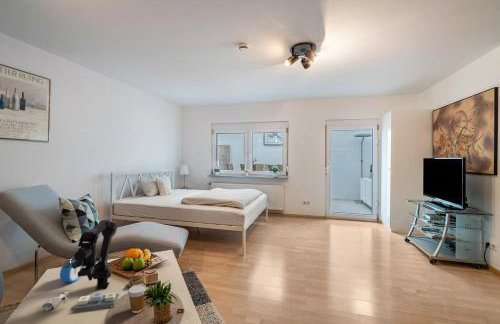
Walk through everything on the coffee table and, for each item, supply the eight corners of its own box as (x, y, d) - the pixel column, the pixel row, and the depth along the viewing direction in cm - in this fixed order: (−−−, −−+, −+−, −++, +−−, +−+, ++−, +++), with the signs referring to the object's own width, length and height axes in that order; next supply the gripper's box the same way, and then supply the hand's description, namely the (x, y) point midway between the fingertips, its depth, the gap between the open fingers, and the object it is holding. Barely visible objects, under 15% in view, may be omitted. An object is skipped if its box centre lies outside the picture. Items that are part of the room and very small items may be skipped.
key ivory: (81, 300, 137) (81, 296, 137) (90, 299, 138) (90, 295, 138) (78, 305, 133) (77, 301, 133) (87, 304, 134) (87, 299, 134)
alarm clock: (68, 286, 154) (68, 263, 153) (59, 286, 154) (58, 262, 153) (83, 275, 167) (83, 254, 166) (74, 275, 167) (74, 253, 166)
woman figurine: (32, 305, 128) (57, 288, 146) (32, 314, 128) (57, 296, 146) (55, 305, 129) (77, 288, 147) (55, 314, 128) (77, 295, 146)
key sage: (107, 297, 141) (107, 293, 141) (115, 296, 142) (115, 292, 142) (104, 301, 137) (104, 297, 136) (113, 300, 138) (113, 296, 138)
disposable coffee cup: (150, 310, 133) (150, 288, 132) (131, 318, 126) (131, 295, 126) (143, 302, 140) (143, 281, 139) (125, 309, 133) (125, 288, 133)
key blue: (94, 296, 139) (94, 292, 139) (103, 295, 140) (103, 291, 140) (91, 301, 135) (91, 297, 135) (100, 300, 136) (100, 296, 136)
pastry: (126, 283, 159) (126, 271, 158) (150, 276, 168) (150, 264, 168) (131, 293, 148) (131, 280, 148) (156, 284, 158) (156, 272, 158)
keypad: (81, 300, 140) (81, 296, 140) (118, 295, 145) (118, 291, 145) (73, 312, 130) (73, 308, 130) (113, 307, 135) (113, 302, 135)
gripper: (80, 248, 145) (80, 273, 146) (65, 262, 128) (66, 291, 128) (101, 246, 148) (101, 271, 149) (90, 260, 130) (90, 288, 131)
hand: (90, 280), depth 140 cm, fingers closed
